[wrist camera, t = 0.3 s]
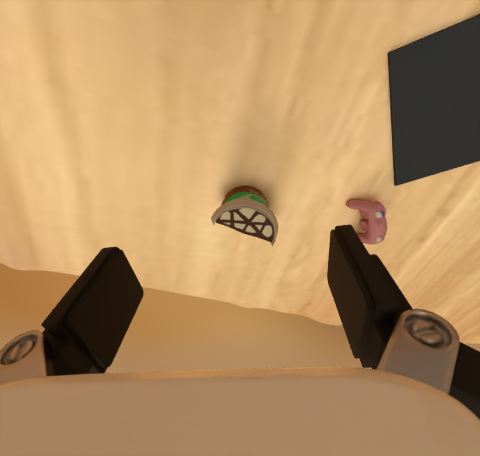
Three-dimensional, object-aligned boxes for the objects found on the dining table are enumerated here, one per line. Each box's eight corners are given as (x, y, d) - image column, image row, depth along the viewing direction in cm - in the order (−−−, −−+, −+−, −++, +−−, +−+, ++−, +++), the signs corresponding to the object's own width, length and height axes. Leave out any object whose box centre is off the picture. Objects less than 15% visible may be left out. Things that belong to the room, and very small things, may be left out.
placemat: (387, 52, 36) (389, 52, 35) (537, -11, 31) (542, -12, 31) (394, 184, 47) (395, 185, 46) (505, 151, 43) (508, 152, 42)
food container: (285, 193, 49) (292, 220, 40) (271, 218, 52) (275, 247, 44) (227, 170, 46) (222, 193, 38) (216, 197, 50) (209, 223, 41)
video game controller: (362, 230, 55) (390, 244, 49) (346, 239, 54) (373, 255, 48) (361, 191, 49) (393, 202, 44) (343, 200, 48) (373, 213, 43)
